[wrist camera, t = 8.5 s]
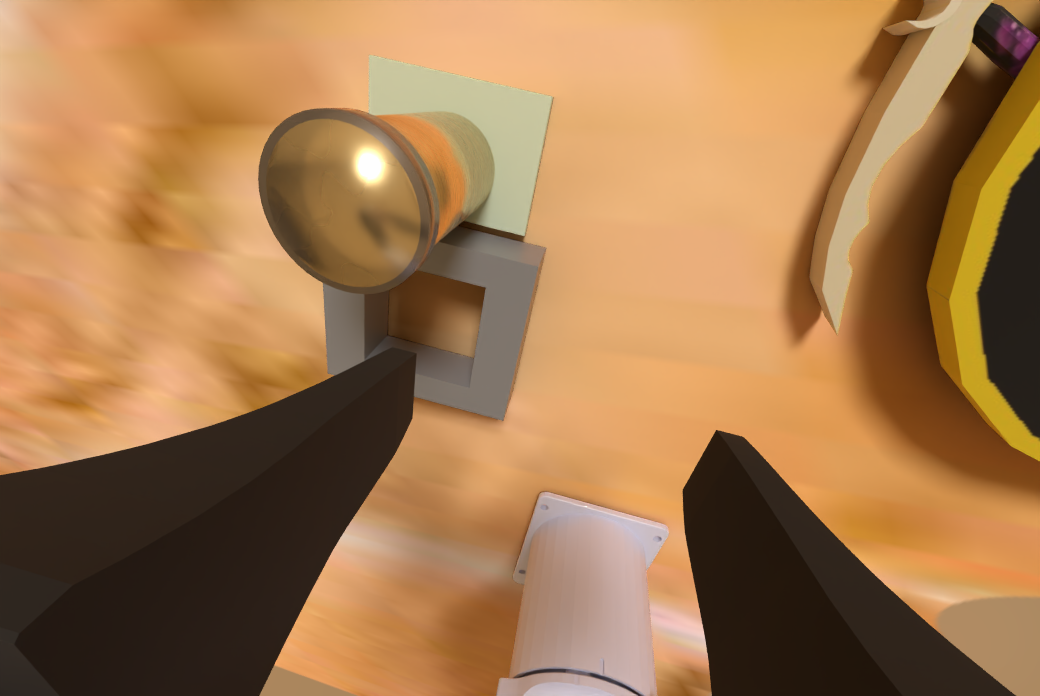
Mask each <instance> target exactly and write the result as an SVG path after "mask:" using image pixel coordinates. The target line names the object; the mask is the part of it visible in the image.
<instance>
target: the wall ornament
mask: <svg viewBox="0 0 1040 696" xmlns="http://www.w3.org/2000/svg"><path fill="white" fill-rule="evenodd" d="M992 1H993V0H924V6H923V8H922V11H921V13H920V15H919V16H918V17H917V19H916V20H915V21H907V20H905V21H902V22H899V23H896V24H893V25H890V26H887V27H884V28H882V29H884V30H886V31H887V32H889V33H890V34H892V35H898V36H900V35H906V34H909V35H908V37H907V38H906V40H905V42H904V44H903V45H902V47H901V49H900V51H899V52H898V54H897V56H896V58H895V59H894V61H893V63H892V65H891V66H890V68H889V70H888V72H887V73H886V75H885V77H884V79H883V80H882V82H881V84H880V86H879V87H878V89H877V91H876V93H875V94H874V96H873V98H872V100H871V101H870V103H869V105H868V107H867V109H866V110H865V112H864V114H863V116H862V118H861V121H860V123H859V125H858V127H857V129H856V132H855V134H854V136H853V138H852V140H851V142H850V145H849V147H848V149H847V151H846V153H845V156H844V158H843V160H842V162H841V164H840V166H839V169H838V171H837V173H836V175H835V177H834V179H833V182H832V184H831V186H830V188H829V191H828V195H827V198H826V201H825V205H824V208H823V211H822V215H821V218H820V221H819V224H818V228H817V231H816V234H815V239H814V246H813V253H812V260H811V268H810V275H809V278H810V281H811V283H812V286H813V288H814V291H815V293H816V296H817V298H818V301H819V303H820V306H821V308H822V311H823V313H824V315H825V317H826V319H827V320H828V322H829V323H830V325H831V326H832V328H833V330H834V331H835V333H836V334H837V336H838V332H839V327H840V323H841V318H842V313H843V309H844V304H845V299H846V295H847V291H848V287H849V284H850V280H851V276H852V273H853V269H852V267H851V265H850V262H849V260H848V259H849V250H850V248H851V246H852V244H853V242H854V239H855V238H856V237H857V236H858V234H859V233H860V232H861V231H862V230H863V229H864V228H865V227H866V226H867V225H868V224H869V210H868V203H869V199H870V194H871V190H872V186H873V184H874V183H875V181H876V179H877V177H878V176H879V174H880V172H881V170H882V168H883V167H884V165H885V164H886V163H887V162H888V161H889V159H890V158H891V157H892V156H893V155H894V153H895V152H896V151H897V150H898V149H899V148H900V146H901V145H903V144H904V143H905V142H906V141H907V140H908V139H909V138H911V137H912V136H913V135H914V134H915V133H916V132H917V131H919V130H920V129H921V128H922V127H923V125H924V124H925V122H926V121H927V119H928V117H929V116H930V114H931V113H932V111H933V109H934V108H935V106H936V105H937V103H938V101H939V100H940V98H941V96H942V95H943V93H944V92H945V90H946V88H947V87H948V85H949V84H950V82H951V80H952V79H953V77H954V76H955V74H956V72H957V71H958V69H959V68H960V66H961V64H962V63H963V61H964V60H965V58H966V56H967V55H968V53H969V50H970V46H971V42H973V43H974V44H975V45H976V46H977V47H978V48H979V49H980V50H981V51H982V52H983V53H984V54H985V55H986V56H987V57H988V58H989V59H990V60H991V61H992V62H993V63H995V64H996V65H997V66H999V67H1000V68H1001V69H1002V70H1004V71H1005V72H1006V73H1008V74H1009V75H1010V76H1011V77H1013V78H1014V79H1015V81H1014V82H1013V84H1012V86H1011V87H1010V89H1009V91H1008V92H1007V94H1006V95H1005V97H1004V99H1003V100H1002V102H1001V104H1000V105H999V107H998V109H997V110H996V112H995V113H994V115H993V117H992V118H991V120H990V122H989V123H988V125H987V127H986V128H985V130H984V131H983V133H982V135H981V136H980V138H979V140H978V141H977V143H976V145H975V146H974V148H973V149H972V151H971V153H970V154H969V156H968V158H967V159H966V161H965V163H964V164H963V166H962V167H961V169H960V171H959V172H958V174H957V176H956V177H955V179H954V181H953V184H952V188H951V192H950V196H949V199H948V203H947V207H946V211H945V215H944V219H943V223H942V227H941V231H940V234H939V238H938V242H937V246H936V250H935V254H934V258H933V262H932V265H931V269H930V273H929V277H928V281H927V285H926V287H927V292H928V298H929V304H930V309H931V315H932V321H933V326H934V332H935V338H936V343H937V349H938V355H939V361H940V365H941V366H942V368H943V369H944V370H945V372H946V373H947V374H948V375H949V377H950V378H951V379H952V380H953V382H954V383H955V384H956V385H957V387H958V388H959V389H960V390H961V392H962V393H963V394H964V396H965V397H966V398H967V399H968V401H969V402H970V403H971V404H972V406H973V407H974V408H975V409H976V411H977V412H978V413H979V414H980V416H981V417H982V418H983V420H984V421H985V422H986V423H987V424H988V425H989V426H990V427H991V428H992V429H993V430H994V431H995V432H996V433H997V434H998V435H999V436H1001V437H1002V438H1003V439H1004V440H1005V441H1006V442H1007V443H1008V444H1009V445H1010V446H1012V447H1013V448H1015V449H1017V450H1019V451H1021V452H1023V453H1025V454H1027V455H1028V456H1030V457H1032V458H1034V459H1036V460H1038V461H1040V39H1039V38H1038V37H1037V36H1035V35H1034V34H1033V33H1032V32H1031V31H1030V30H1028V29H1027V28H1026V27H1025V26H1024V25H1023V24H1022V23H1021V22H1019V21H1018V20H1017V19H1016V18H1015V17H1014V16H1013V15H1012V14H1010V13H1009V12H1008V11H1007V10H1006V9H1005V8H1004V7H1002V6H1000V5H997V4H994V3H991V2H992Z"/></svg>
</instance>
